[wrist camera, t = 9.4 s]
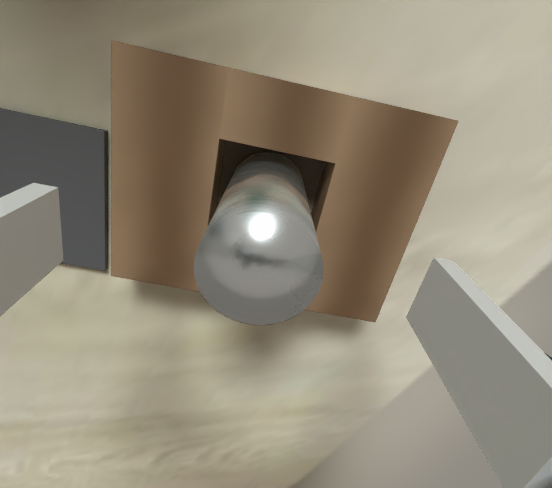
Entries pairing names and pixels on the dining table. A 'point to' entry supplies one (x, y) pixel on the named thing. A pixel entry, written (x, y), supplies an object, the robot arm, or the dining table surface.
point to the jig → (271, 135)
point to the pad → (61, 178)
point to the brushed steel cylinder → (261, 245)
